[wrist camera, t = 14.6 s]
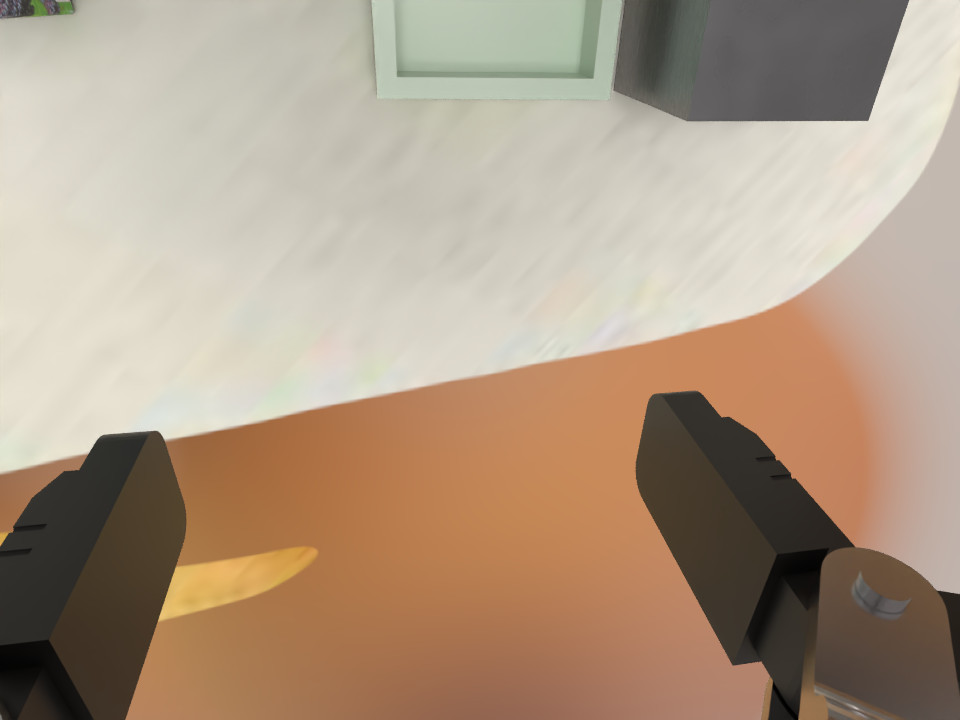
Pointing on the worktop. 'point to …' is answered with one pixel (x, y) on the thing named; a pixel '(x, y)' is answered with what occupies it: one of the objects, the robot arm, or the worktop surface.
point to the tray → (495, 49)
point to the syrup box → (34, 8)
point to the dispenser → (757, 57)
